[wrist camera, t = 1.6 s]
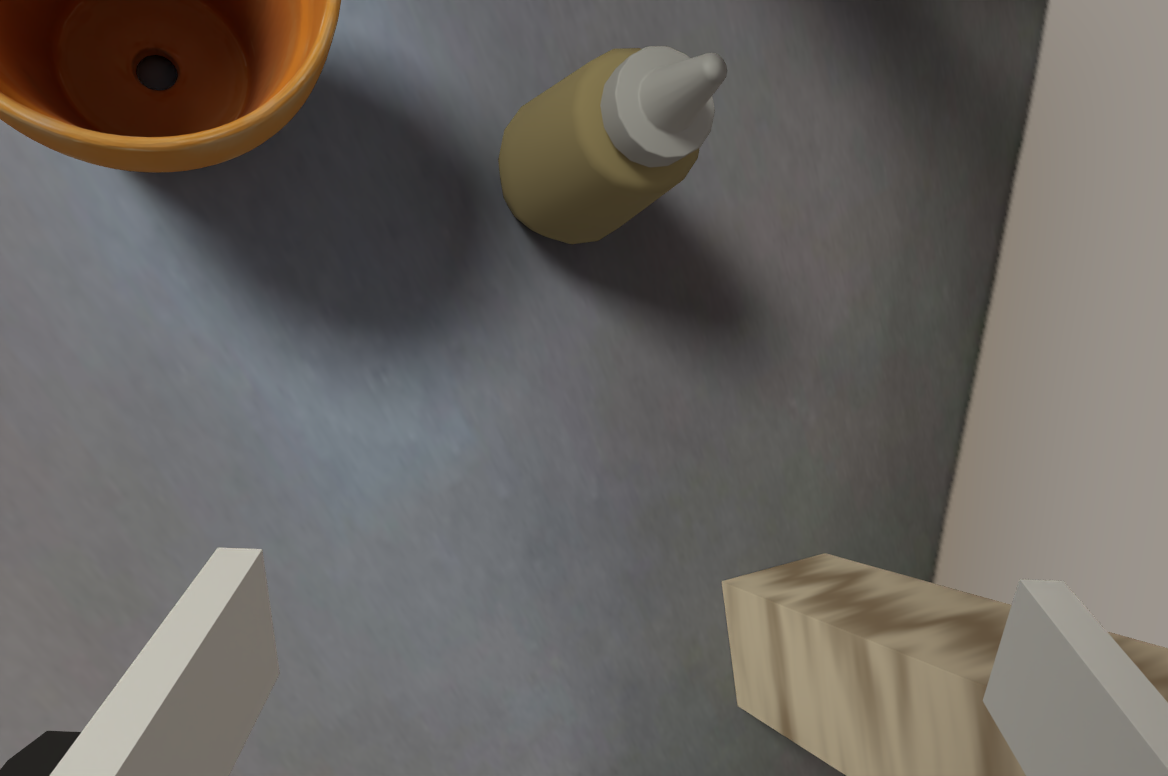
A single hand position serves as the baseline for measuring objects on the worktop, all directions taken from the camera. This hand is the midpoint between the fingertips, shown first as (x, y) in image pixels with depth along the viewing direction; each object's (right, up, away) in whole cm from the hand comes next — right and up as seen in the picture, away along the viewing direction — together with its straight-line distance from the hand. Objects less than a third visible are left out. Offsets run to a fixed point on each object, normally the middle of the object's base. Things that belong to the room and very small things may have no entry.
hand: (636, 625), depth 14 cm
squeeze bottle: (-3, +16, +32) cm, 36 cm away
